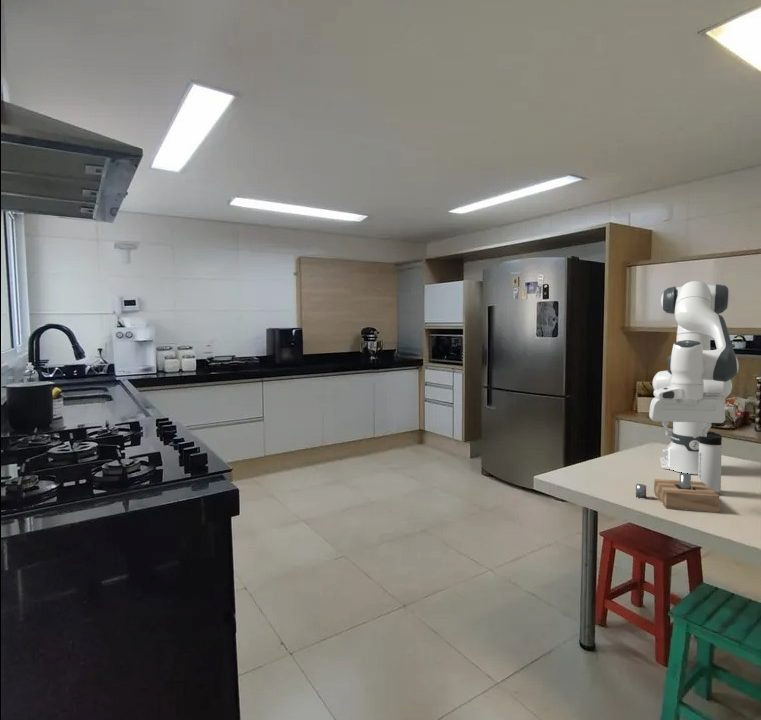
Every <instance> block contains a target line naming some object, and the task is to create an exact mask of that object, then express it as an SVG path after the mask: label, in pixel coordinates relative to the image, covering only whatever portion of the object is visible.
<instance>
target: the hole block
mask: <svg viewBox="0 0 761 720" xmlns="http://www.w3.org/2000/svg"><path fill="white" fill-rule="evenodd" d="M653 482H654V483H653V486H654V487H653V494H654V493H655V494H654V495H655V496H656V498H657V497H658V498H659V499H658V498H657V499H658V500H659V501H660V503H661V502H662V503H663V504H662V503H661V504H662V505H663V506H664V508H665V507H666V509H668V508H672V509H671V510H680V509H685V510H684V511H693V510H696V511H695V512H705V511H709V512H708V513H718V512H719V513H720V494H719V495H717V494H716V493H715V492H714V491H713V490H711V489H710V488H709V487H708V486H707V485H705V484H704V483H703V482H698V481H697V480H695V481H693V480H691V490H687V489H679V482H680V479H679V480H678V479H677V480H676V479H664V478H663V479H662V478H654V479H653ZM686 509H687V510H686Z"/></svg>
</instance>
